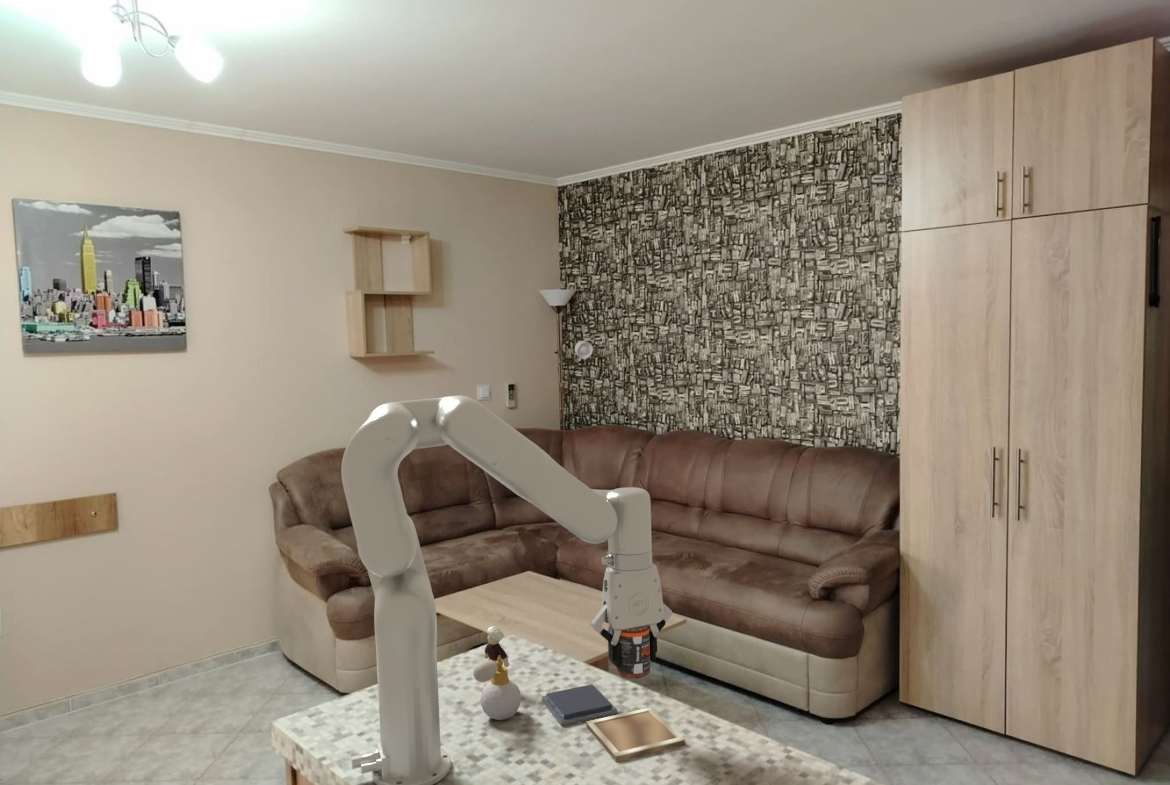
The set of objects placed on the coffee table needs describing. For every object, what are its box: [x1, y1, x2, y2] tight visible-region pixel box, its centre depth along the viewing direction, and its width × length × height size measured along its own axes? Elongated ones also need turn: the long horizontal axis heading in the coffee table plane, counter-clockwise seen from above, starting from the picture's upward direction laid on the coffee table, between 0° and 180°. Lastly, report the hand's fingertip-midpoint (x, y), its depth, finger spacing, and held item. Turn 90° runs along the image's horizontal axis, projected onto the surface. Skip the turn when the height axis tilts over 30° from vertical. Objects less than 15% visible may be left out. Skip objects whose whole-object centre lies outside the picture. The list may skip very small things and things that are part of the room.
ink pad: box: [541, 683, 618, 727], centre depth 149 cm, size 11×11×2 cm
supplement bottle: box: [616, 626, 651, 680], centre depth 137 cm, size 6×6×11 cm
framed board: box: [585, 706, 686, 763], centre depth 138 cm, size 13×13×1 cm
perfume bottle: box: [472, 655, 522, 721], centre depth 145 cm, size 8×10×12 cm
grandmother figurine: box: [483, 626, 510, 688], centre depth 158 cm, size 8×4×13 cm, turn 55°
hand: (633, 659), depth 137 cm, fingers closed on supplement bottle, 6 cm apart
